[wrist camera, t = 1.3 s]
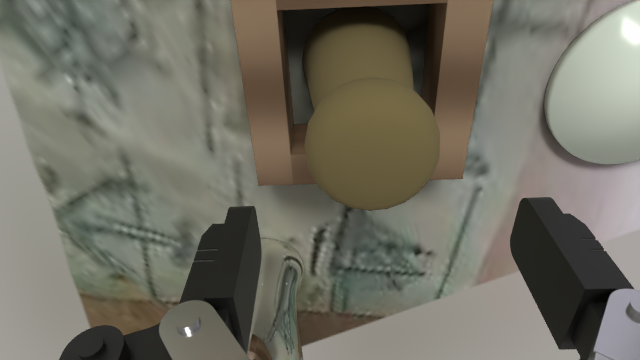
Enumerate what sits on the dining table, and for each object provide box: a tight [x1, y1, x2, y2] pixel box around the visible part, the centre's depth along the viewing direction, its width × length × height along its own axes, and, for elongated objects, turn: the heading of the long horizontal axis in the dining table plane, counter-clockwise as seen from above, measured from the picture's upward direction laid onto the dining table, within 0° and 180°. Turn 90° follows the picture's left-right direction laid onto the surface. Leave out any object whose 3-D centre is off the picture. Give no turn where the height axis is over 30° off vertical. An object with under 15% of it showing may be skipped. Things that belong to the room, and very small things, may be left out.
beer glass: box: [247, 238, 304, 360], centre depth 28 cm, size 7×7×15 cm
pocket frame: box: [230, 0, 493, 186], centre depth 23 cm, size 12×12×4 cm
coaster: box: [544, 0, 640, 164], centre depth 25 cm, size 10×10×1 cm
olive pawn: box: [302, 6, 440, 211], centre depth 20 cm, size 6×6×11 cm
